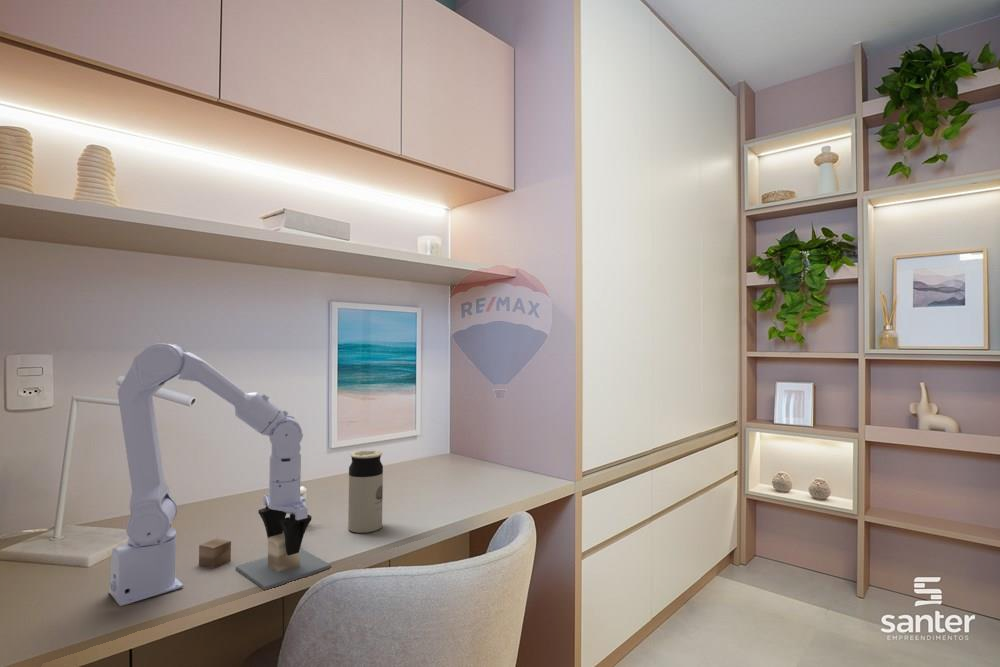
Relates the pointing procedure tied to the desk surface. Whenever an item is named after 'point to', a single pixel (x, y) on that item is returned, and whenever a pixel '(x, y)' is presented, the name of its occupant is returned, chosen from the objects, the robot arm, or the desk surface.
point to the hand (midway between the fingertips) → (283, 548)
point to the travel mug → (365, 491)
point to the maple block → (280, 554)
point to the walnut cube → (214, 553)
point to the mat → (271, 578)
